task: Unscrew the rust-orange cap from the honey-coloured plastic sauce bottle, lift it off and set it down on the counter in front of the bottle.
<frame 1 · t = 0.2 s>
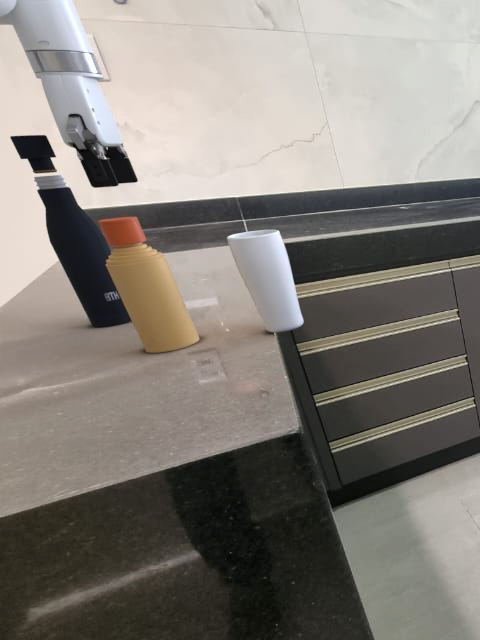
hand: (116, 184, 88), 22 cm above the counter, tool pointing down, fingers open, 9 cm apart
cap: (118, 221, 72), point 18 cm above the counter, screwed on, not yet turned
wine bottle: (117, 321, 93), on the counter
sauce bottle: (173, 344, 80), on the counter
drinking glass: (286, 329, 85), on the counter
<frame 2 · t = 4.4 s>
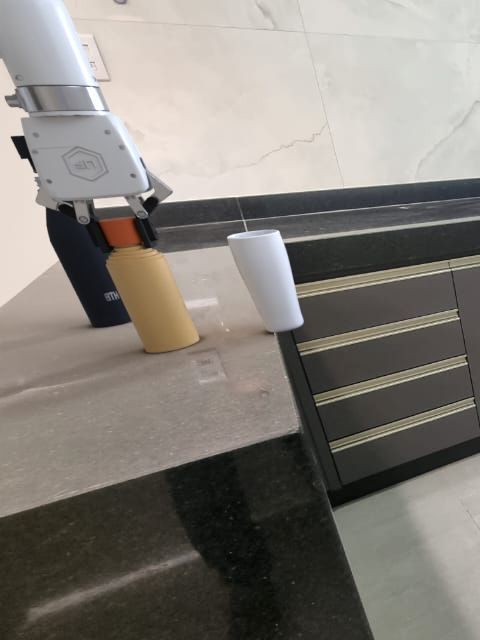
hand: (130, 247, 74), 15 cm above the counter, tool pointing down, fingers closed on cap, 4 cm apart
cap: (119, 221, 72), point 18 cm above the counter, screwed on, not yet turned, touching gripper
everything else where it was.
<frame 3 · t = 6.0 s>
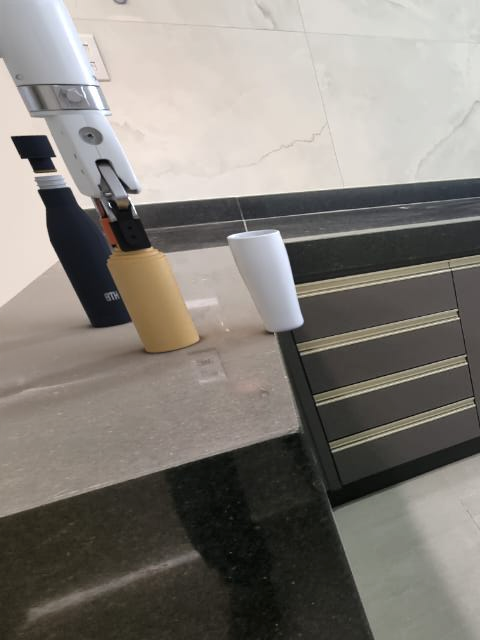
hand: (132, 246, 74), 15 cm above the counter, tool pointing down, fingers closed on cap, 3 cm apart
cap: (120, 220, 72), point 18 cm above the counter, turned 115° so far, risen 0.1 cm, still on its thread, touching gripper
everything else where it was.
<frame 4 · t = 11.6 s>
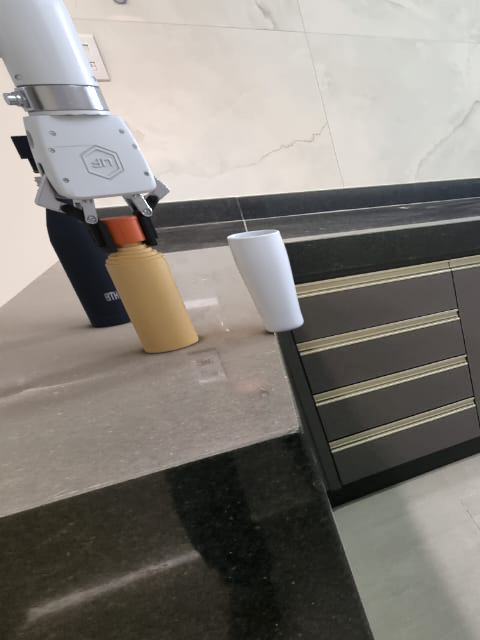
hand: (130, 247, 74), 15 cm above the counter, tool pointing down, fingers closed on cap, 3 cm apart
cap: (118, 220, 72), point 18 cm above the counter, turned 149° so far, risen 0.1 cm, still on its thread, touching gripper
everything else where it was.
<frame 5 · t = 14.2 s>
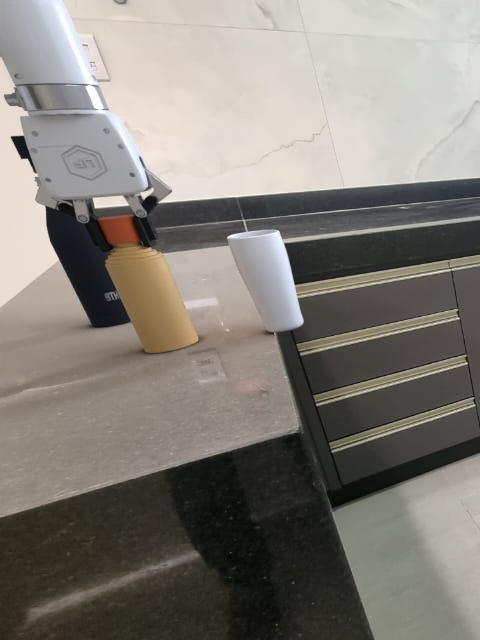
hand: (129, 246, 74), 15 cm above the counter, tool pointing down, fingers closed on cap, 3 cm apart
cap: (117, 220, 72), point 19 cm above the counter, turned 230° so far, risen 0.2 cm, still on its thread, touching gripper
everything else where it was.
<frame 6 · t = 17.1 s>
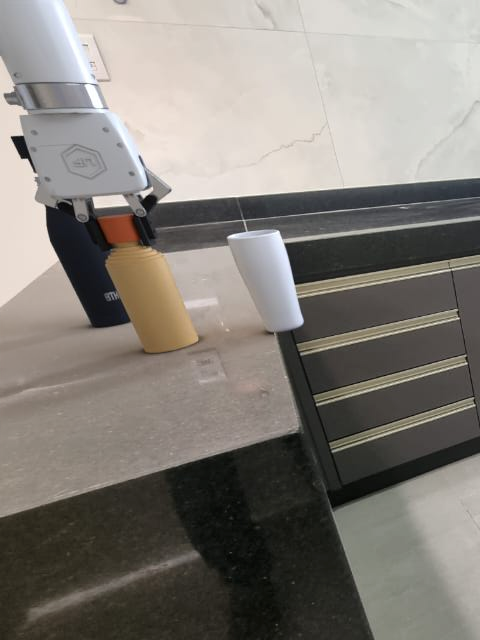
hand: (129, 245, 74), 15 cm above the counter, tool pointing down, fingers closed on cap, 3 cm apart
cap: (117, 219, 72), point 19 cm above the counter, turned 345° so far, risen 0.4 cm, still on its thread, touching gripper
everything else where it was.
when the fingers open (1 cm above the counter, at t = 26.2 s): cap drops 2 cm, point 3 cm above the counter.
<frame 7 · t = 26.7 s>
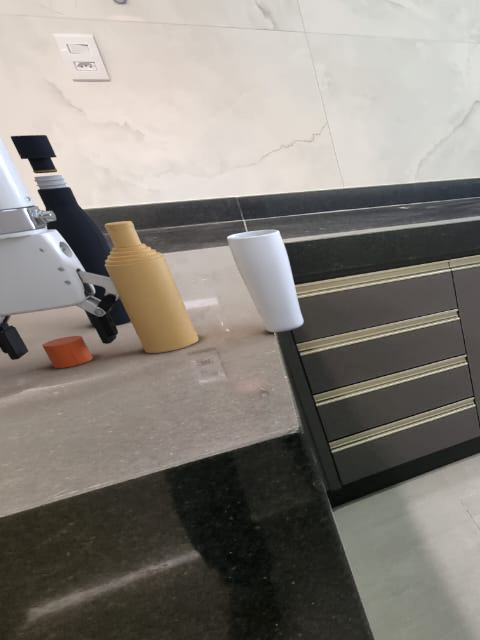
hand: (66, 348, 74), 2 cm above the counter, tool pointing down, fingers open, 9 cm apart
cap: (63, 343, 74), point 3 cm above the counter, off its thread
everything else where it was.
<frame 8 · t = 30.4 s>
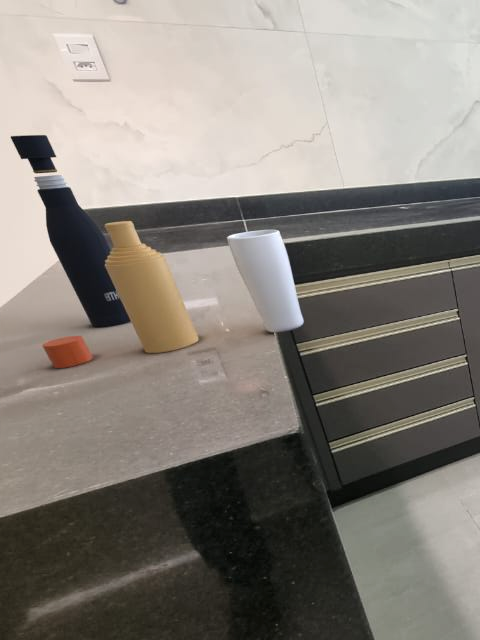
nothing on the counter moved.
at the end: cap came off its thread; cap point 2.9 cm above the counter; the gripper is holding nothing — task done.
